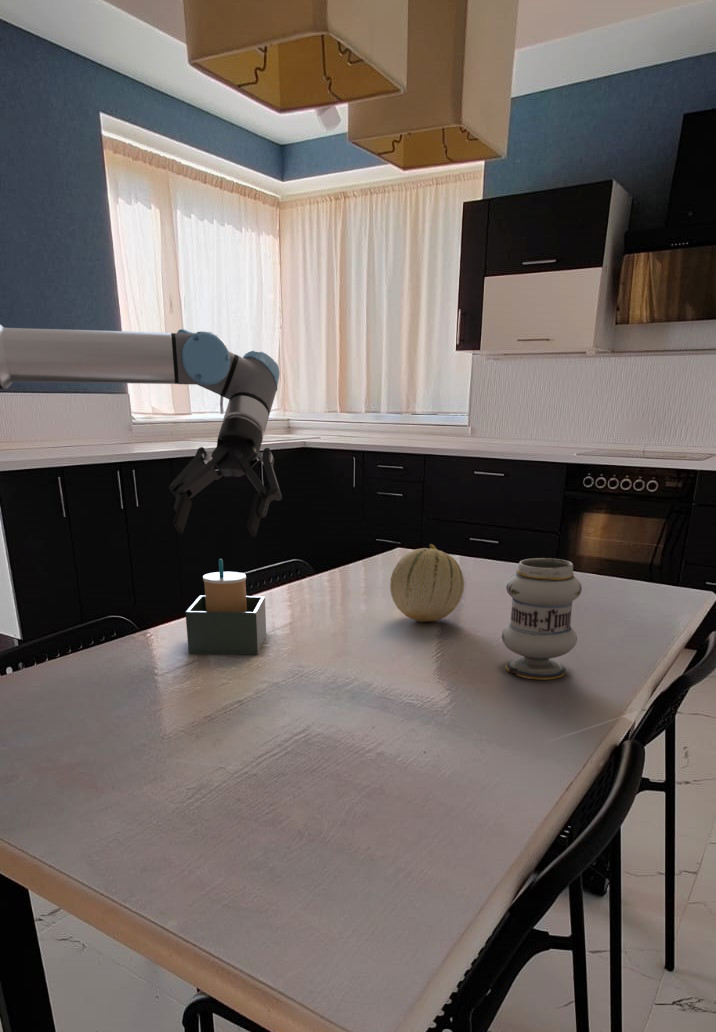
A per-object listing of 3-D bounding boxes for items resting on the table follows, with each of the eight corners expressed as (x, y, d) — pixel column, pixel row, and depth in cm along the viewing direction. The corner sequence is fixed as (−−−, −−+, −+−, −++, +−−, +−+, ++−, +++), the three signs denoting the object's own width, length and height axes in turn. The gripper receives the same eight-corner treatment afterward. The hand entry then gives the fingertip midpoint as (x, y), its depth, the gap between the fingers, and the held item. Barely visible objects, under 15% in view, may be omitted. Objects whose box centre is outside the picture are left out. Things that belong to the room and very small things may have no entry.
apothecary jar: (483, 667, 130) (492, 559, 123) (532, 655, 136) (543, 552, 129) (538, 687, 121) (550, 572, 114) (587, 673, 127) (602, 564, 120)
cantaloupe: (391, 630, 151) (393, 552, 145) (387, 611, 164) (389, 539, 158) (466, 630, 151) (472, 553, 145) (456, 611, 165) (460, 540, 159)
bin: (202, 634, 146) (199, 595, 143) (266, 635, 146) (264, 596, 143) (188, 653, 135) (185, 611, 132) (257, 654, 135) (256, 612, 132)
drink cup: (217, 634, 145) (212, 552, 139) (255, 637, 143) (251, 554, 137) (200, 645, 138) (194, 560, 132) (239, 648, 136) (235, 562, 130)
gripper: (314, 445, 138) (289, 546, 131) (187, 444, 144) (157, 540, 137) (303, 414, 131) (276, 518, 124) (170, 415, 137) (138, 514, 130)
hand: (213, 530), depth 130 cm, fingers open, 13 cm apart
